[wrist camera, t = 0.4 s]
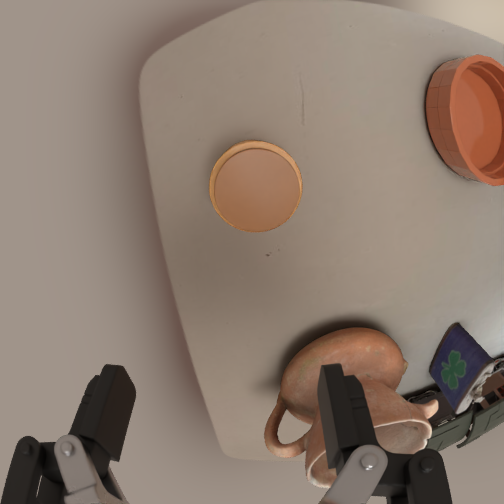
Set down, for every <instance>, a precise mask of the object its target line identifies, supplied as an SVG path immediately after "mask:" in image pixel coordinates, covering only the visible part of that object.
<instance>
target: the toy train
mask: <svg viewBox="0 0 504 504" xmlns="http://www.w3.org/2000/svg"><path fill="white" fill-rule="evenodd" d="M495 366H498V367H495ZM493 369H494V370H492V373H491V377H487V379H486V380H485V381H486V382H485V383H484V384H483V385H482V393H481V396H483V398H484V397H485V398H484V399H483V400H482V401H481V402H474V399H473V400H472V401H471V403H470V405H469V407H468V408H467V409H466V410H465V411H463V412H461V413H459V414H456V413H455V412H454V410H453V408H452V407H451V405H450V403H449V402H448V400H447V398H446V397H445V396H444V394H443V393H442V391H440V392H439V393H438V392H437V391H431V390H430V391H427V392H426V393H424V394H420V395H419V396H416V397H411V398H409V399H408V401H407V402H410V403H414V404H427V403H429V402H430V401H431V400H434V399H435V400H437V401H438V410H437V412H436V413H435V414H434V415H433V416H431V417H430V418H428V421H429V423H430V425H431V427H432V435H431V437H430V438H429V439H427V445H426V447H425V448H430V449H434V450H436V451H437V452H438V451H440V450H442V449H444V448H446V447H448V446H450V445H452V444H454V443H456V442H458V441H460V440H461V439H462V438H463V437H464V436H465V435H466V437H467V439H466V440H465V441H464V442H462V443H461V444H459V445H457V448H461V447H463V446H464V445H466V444H468V443H470V442H472V441H474V440H475V439H477V438H478V437H480V436H481V435H483V434H484V433H486V432H488V431H490V430H491V429H493V428H495V427H496V426H498V425H499V424H501V423H502V422H504V358H502V359H496V360H495V361H494V368H493ZM473 402H474V404H472V403H473ZM453 418H455V419H453ZM451 419H453V420H451ZM444 420H446V421H448V422H447V423H444V422H446V421H444ZM442 421H444V422H442ZM441 422H442V423H444V424H442V423H441ZM439 423H440V424H442V425H440V424H439ZM472 423H473V425H472V429H471V431H470V430H469V428H470V425H471V424H472ZM438 425H440V426H438ZM425 448H424V449H425Z"/></svg>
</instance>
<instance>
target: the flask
mask: <svg viewBox="0 0 504 504" xmlns="http://www.w3.org/2000/svg"><path fill="white" fill-rule="evenodd" d="M493 368H494V360H493V359H492V358H491V357H490V356H489V355H488V354H487V352H485V350H484V349H483V348H482V347H481V346H480V345H479V344H478V343H477V342H476V341H475V339H474V338H473V337H472V336H471V335H469V333H468V332H467V331H466V330H465V329H464V328H463V327H462V326H461V325H460V324H459V323H454V324H452V326H451V327H450V328H449V329H448V330H447V332H446V334H445V336H444V337H443V339H442V341H441V343H440V344H439V347H438V349H437V352H436V354H435V356H434V359H433V361H432V363H431V366H430V370H429V371H430V374H431V376H432V378H433V379H434V380H435V382H436V383H437V385H438V386H439V388H440V389H441V391H442V393H443V394H444V396H445V397H446V398H447V400H448V402H449V403H450V405H451V407H452V408H453V410H454V412H455V413H456V414H459V413H461V412H463V411H465V410H466V409H467V408H468V407H469V405H470V403H471V401H472V400H473V399H474V402H481V401H482V400H483V399H484V398H485V397H484V398H483V396H481V393H482V385H483V384H484V383H485V382H486V381H485V380H486V379H487V377H491V373H492V370H493ZM474 402H473V403H472V404H474Z"/></svg>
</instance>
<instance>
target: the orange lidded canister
mask: <svg viewBox="0 0 504 504" xmlns="http://www.w3.org/2000/svg"><path fill="white" fill-rule="evenodd" d="M209 193H210V198H211V202H212V204H213V206H214V208H215V210H216V212H217V213H218V214H219V216H220V217H221V218H222V219H223V220H224V221H225V222H227V223H228V224H229V225H231V226H233V227H235V228H237V229H239V230H243V231H247V232H264V231H268V230H271V229H274V228H276V227H278V226H280V225H282V224H283V223H284V222H286V221H287V220H288V219H289V218H290V217H291V216H292V214H293V213H294V212H295V210H296V209H297V207H298V205H299V202H300V199H301V195H302V178H301V173H300V171H299V168H298V166H297V164H296V162H295V161H294V160H293V158H292V157H291V156H290V155H289V154H288V153H287V152H286V151H284V150H283V149H281V148H280V147H278V146H276V145H274V144H271V143H267V142H263V141H257V140H246V141H242V142H239V143H237V144H235V145H233V146H232V147H230V148H229V149H228V150H227V151H226V152H225V153H224V154H223V155H222V156H221V157H220V158H219V159H218V161H217V162H216V164H215V166H214V167H213V170H212V172H211V176H210V181H209Z"/></svg>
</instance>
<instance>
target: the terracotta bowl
mask: <svg viewBox="0 0 504 504" xmlns="http://www.w3.org/2000/svg"><path fill="white" fill-rule="evenodd" d="M426 116H427V123H428V127H429V131H430V134H431V137H432V140H433V142H434V144H435V146H436V149H437V150H438V152H439V153H440V155H441V156H442V158H443V160H444V161H445V163H446V164H447V165H448V166H449V167H450V168H452V169H453V170H454V171H455V172H456V173H457V174H459V175H461V176H464V177H467V178H470V179H473V180H476V181H479V182H483V183H486V184H489V185H492V186H498V185H504V66H502V65H501V64H500V63H498V62H497V61H495V60H494V59H492V58H491V57H487V56H483V55H473V56H468V57H463V58H459V59H454V60H451V61H448V62H445V63H443V64H442V65H441V66H440V67H439V68H438V69H437V70H436V71H435V72H434V74H433V76H432V79H431V81H430V84H429V87H428V91H427V96H426Z"/></svg>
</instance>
